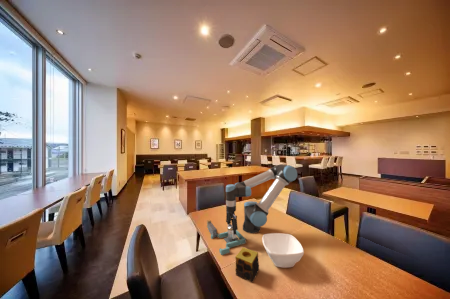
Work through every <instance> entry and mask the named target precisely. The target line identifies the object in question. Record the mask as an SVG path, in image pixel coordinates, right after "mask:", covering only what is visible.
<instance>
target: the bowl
mask: <svg viewBox="0 0 450 299" xmlns="http://www.w3.org/2000/svg"><path fill="white" fill-rule="evenodd" d="M261 241H262V245H263V247H264V249H265V251H266V254H267V256H268V257H269V258H270V260H271V261H272V263H273V264H274V266H275V267H278V268H293V267H294V266H295V265H296V264H297V263H298V262H300V261H301V259H302V257H303V256H304V253H305V252H304V251H305V250H304V248H303V246H302V244H301V242H300V241H299V240H298V239H297V238H296V237H295V236H293V235H292V234H290V233H281V232H271V233H264V234H263V235H262V238H261Z"/></svg>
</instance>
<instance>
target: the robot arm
mask: <svg viewBox="0 0 450 299" xmlns="http://www.w3.org/2000/svg"><path fill="white" fill-rule="evenodd" d="M297 178H298V170H297V168H296V167H294V166H292V165H286V164H278V165H275V166H272V167H270V168H269V169H267V170H266V171H264V172H261V173H259V174H257V175H255V176H253V177H250V178H249V179H245V180H244V181H241V182H236V183H234V184H226V186H225V204H226V207H225V208H226V209H225V212H226V216H225V217H226V219H225V223H227V226H228V225H232V227H233V229H232V237H233V239H234V238H236V237H237V235H236V230H237V231H239V227H238V219H237V218H238V216H237V215H236V214H235V212H236V211H237V198H248V197H251V196H252V189H253V187H256V186H258V185H260V184H263V183H266V182H267V181H269V180H274V181H273V182H272V184H271V185H270V186H269V188H268V189H267V191H266V192H265V193H264V195H263V197H262V198H261V199H260V201H259V202H257V201H251V200H250V201H245V202H244V203H243V214H244V216H243V217H244V220H243V224H242V230H243V231H244V232H245V233H248V234H257V233H259V232H260V231H261V227H263V226H264V225H266V223H267V221H268V215H269V214H270V213H269V210H270V208H271V207H272V205H273V204H274V202H275V201H276V199H277V198H278V196H280V193H281V192H282V191H283V189H284V188H285V186H288V185H290V183H291V182H293V181H295V180H296V179H297ZM251 188H252V189H251Z"/></svg>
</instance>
